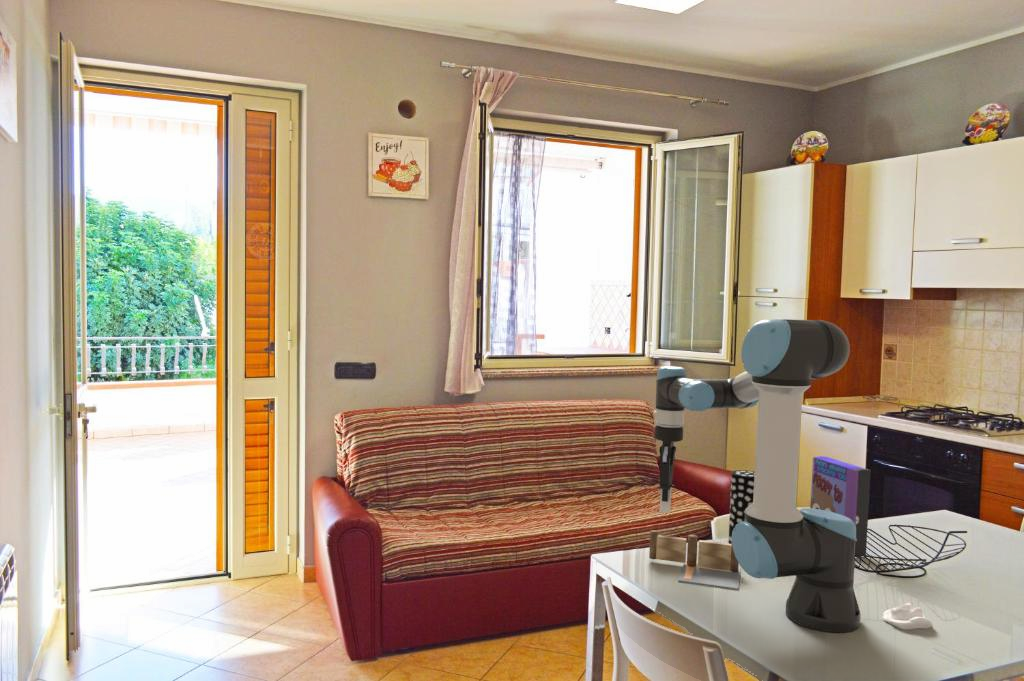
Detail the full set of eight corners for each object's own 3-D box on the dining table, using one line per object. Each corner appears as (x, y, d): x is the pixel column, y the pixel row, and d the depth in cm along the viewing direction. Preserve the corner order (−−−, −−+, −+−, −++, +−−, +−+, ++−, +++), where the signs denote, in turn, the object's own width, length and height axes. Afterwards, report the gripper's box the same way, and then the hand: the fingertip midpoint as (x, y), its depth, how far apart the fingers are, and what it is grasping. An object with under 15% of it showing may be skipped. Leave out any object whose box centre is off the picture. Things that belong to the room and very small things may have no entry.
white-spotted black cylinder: (752, 550, 217) (756, 478, 215) (723, 544, 222) (727, 473, 220) (763, 543, 223) (766, 473, 222) (735, 537, 228) (738, 468, 227)
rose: (927, 617, 164) (877, 604, 170) (926, 638, 164) (876, 624, 170) (938, 603, 171) (890, 591, 177) (936, 623, 172) (888, 611, 178)
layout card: (740, 570, 200) (740, 568, 200) (738, 590, 187) (738, 588, 187) (684, 563, 205) (684, 561, 205) (678, 581, 191) (678, 579, 191)
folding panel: (685, 561, 204) (686, 534, 203) (684, 563, 202) (686, 536, 201) (649, 556, 206) (650, 529, 206) (648, 558, 204) (649, 532, 204)
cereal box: (808, 538, 229) (813, 456, 228) (822, 537, 231) (826, 456, 229) (851, 558, 213) (856, 470, 211) (865, 557, 214) (870, 469, 213)
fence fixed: (738, 571, 200) (739, 540, 199) (738, 574, 197) (739, 543, 197) (687, 564, 204) (688, 534, 203) (686, 567, 201) (687, 536, 201)
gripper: (658, 419, 217) (654, 504, 219) (651, 427, 205) (646, 517, 206) (686, 422, 215) (681, 507, 216) (680, 430, 202) (676, 520, 204)
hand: (664, 512), depth 211 cm, fingers closed
